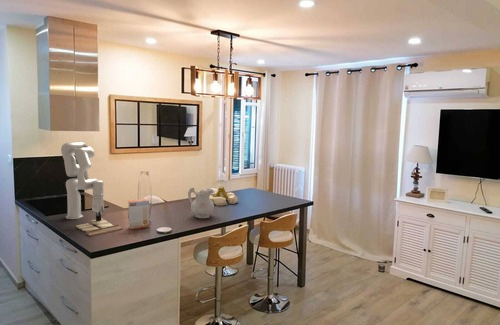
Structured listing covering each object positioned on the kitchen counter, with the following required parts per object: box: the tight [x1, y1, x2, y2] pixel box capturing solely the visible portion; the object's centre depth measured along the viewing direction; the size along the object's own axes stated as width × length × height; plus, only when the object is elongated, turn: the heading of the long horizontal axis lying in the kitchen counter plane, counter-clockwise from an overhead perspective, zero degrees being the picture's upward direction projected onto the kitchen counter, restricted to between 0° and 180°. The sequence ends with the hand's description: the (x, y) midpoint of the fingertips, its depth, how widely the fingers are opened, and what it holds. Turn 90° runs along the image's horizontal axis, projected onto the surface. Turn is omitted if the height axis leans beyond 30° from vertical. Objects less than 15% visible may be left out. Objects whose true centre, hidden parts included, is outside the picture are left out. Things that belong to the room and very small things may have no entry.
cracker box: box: [128, 198, 150, 230], centre depth 274 cm, size 14×6×21 cm, turn 121°
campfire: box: [209, 185, 239, 207], centre depth 367 cm, size 35×34×17 cm
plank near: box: [75, 222, 100, 233], centre depth 267 cm, size 18×9×1 cm, turn 50°
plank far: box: [90, 217, 115, 229], centre depth 275 cm, size 18×9×1 cm, turn 50°
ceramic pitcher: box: [187, 187, 215, 219], centre depth 310 cm, size 22×20×25 cm
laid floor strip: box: [85, 224, 124, 237], centre depth 262 cm, size 7×24×2 cm, turn 140°
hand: (98, 220), depth 279 cm, fingers closed
